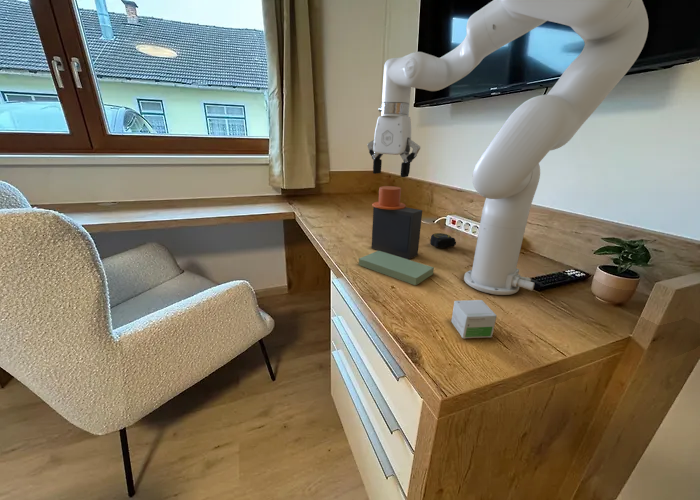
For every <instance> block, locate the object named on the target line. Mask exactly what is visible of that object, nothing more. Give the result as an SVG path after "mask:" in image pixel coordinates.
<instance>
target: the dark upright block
mask: <svg viewBox="0 0 700 500" xmlns="http://www.w3.org/2000/svg"><path fill="white" fill-rule="evenodd" d="M372 207H373V206H372ZM422 219H423V210H422V209H418V208H412V207H408V206H406V207H405V208H404V209H398V210H387V209H379V208H376V207H373V209H372V226H371V227H372V228H371V230H372V231H371V247H370V248H371V249H373V250H376V251H382V252H385V253H388V254H391V255H395V256H398V257H401V258H404V259H408V260H411V259H413V258H415V257H418V255H419V246H420V236H421V226H422Z"/></svg>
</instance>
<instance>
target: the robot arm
mask: <svg viewBox="0 0 700 500" xmlns="http://www.w3.org/2000/svg"><path fill="white" fill-rule="evenodd" d="M546 22H552V23H557V24H560V25H565V26H567V27H570V28H571V29H572V30H573V31H574V33H575V34H577V35H578V37H580V39H582V40H583V42H584V46H583V47H582V48H583V49H582V50H581V52H580V53H579V55H578V56H576V58H574V60H573V61H572V62H571V63H570V64H569V65H568V66H567V68H565V70H564V71H563V73H562V74H561V75H560V77H559V79H558V80H557V81H556V82H555V84H554V85H553V86H552V87H551V89H549V91H548V92H547V94H541V95H536V96H533V97H531V98H529V99H527V100H525V101H524V102H523V103H521V104H520V105H519V106H518V107H516V108H515V110H513V112H512V113H511V114H510V115H509V116H508V118H507V119H506V121H505V122H504V123H503V125H502V126H501V128H500V129H499V130H498V131H497V133H496V134H495V136H494V137H493V138H492V140H491V141H490V143H489V144H488V145H487V147H486V148H485V150H484V151H483V152H482V154H481V155H480V157H479V159H478V160H477V162H476V163H475V165H474V168H473V170H472V185H473V187H474V190H475V191H476V192H477V193H478V194H479V195H480V196H482V197H483V198H485V200H484V203H483V207H482V210H481V216H480V221H479V228H478V234H477V239H476V244H475V251H474V257H473V262H472V268H471V269H470V270H468V271H466V272H465V273H464V274H463V275H464V276H463V280H464V282H465V284H467V285H468V286H469V287H471V288H472V289H475V290H476V291H478V292H479V291H480V292H482V293H485V294H490V295H497V296H509V295H513V294H516V293H517V292H519V290H520V288H523V289H525V290H528V291H533V290H534V288H535V282H533V281H532V278H530V277H526V276H523V275H522V276H521V274H520V268H517V266H518V264H519V263H518V262H519V258H520V253H521V250H522V245H523V240H524V235H525V232H526V226H527V223H528V220H529V215H530V211H531V207H532V203H533V200H534V199H535V198H534V197H535V194H536V192H537V189H538V185H539V183H540V179H541V167H540V162H541V161H542V160H543V159H544V158H545V157H546V156H547V155H548V153H549V152H550V151H555V150H558V149H561V148H562V147H564V146H565V145H566V144H567V143H568V142H570V141H571V140H572V138H573V137H574V136H575V135H576V133H577V132H578V131H579V130H580V128H581V127H582V126H583V125H584V124H585V123H586V121H587V120H588V119H589V118H590V117H591V115H592V114H593V113H594V112H595V111H596V110H597V109H598V108H599V106H600V105H601V104H602V103H603V101H605V99H606V98H607V96H608V95H609V94H610V93H611V92H612V91H613V89H615V87H616V86H617V85H618V84H619V83H620V81H621V80H622V79H623V78H624V77H625V75H626V74H627V73H628V72H629V70H631V68H632V66H633V65H635V62H637V59H638V58H639V56H640V54H641V52H642V50H643V49H644V47H645V44H646V41H647V38H648V32H649V18H648V12H647V9H646V7H645V4H644V1H643V0H492V1H490V2H488V3H487V4H486V5H484V6H483V7H481V8H480V9H479V10H477V11H475V12H473V13H472V14H471V15H470V16H469V18H468V19H467V22H466V26H465V27H466V28H465V29H466V31H465V32H466V35H465V37H464V39H463V40H462V41H461V42H460V43H459V44H458V45H457V46H456V47H454V48H453V49H452V50H450V51H449V52H447V53H445V54H444V55H442V56H441V57H437V56H435V55H432V54H429V53H426V52H423V51H414V52H411V53H409V54H406V55H404V56H401V57H391V58H388V59H387V60H386V61H385V62H384V65H383V75H382V76H383V78H382V91H381V92H382V94H381V106H379V107H378V112H379V113H380V115H379V116H378V117H377V120H376V124H375V130H374V136H373V137H374V138H373V139H372V140H371V141H370V142H368V143H367V149H368V153H369V155H370V156H371V159H372V161H373V163H372V174H375V175H376V174H381V173H382V163H383V160H382V159H381V158H382V157H383V156H384V155H390V156H391V155H392V156H400V158H401V159H402V162H401V165H400V178H408V177H409V175H410V169H411V163H412V162H413V161H414V159H415V158H416V157H417V156H418V154H419V152H420V150H421V145H419V144H418V143H416V142H415V141H414V140H412V122H411V121H412V119H411V116H409V115H410V103H411V92H412V88H414V89H419V90H425V91H429V92H437V91H440V90H443V89H445V88H447V87H449V86H450V85H453V84H455V83H457V82H458V81H460V80H462V79H463V78H465V77H467V76H468V75H470V74H471V72H472V71H473V70H475V68H476V67H477V66H478V65H480V64H481V62H482V61H483V59H485V58H486V57H487V56H489V55H491V54H492V53H494V52H496V51H498V50H499V49H501V48H502V47H504V46H506V45H508V44H509V43H511V42H513V41H515V40H517V39H518V38H521V37H522V36H524V35H526V34H527V33H529V32H530V31H532V30H534V29H536V28H538V27H540V26H541V25H543V24H545V23H546ZM411 149H412V150H411Z"/></svg>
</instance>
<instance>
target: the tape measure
mask: <svg viewBox="0 0 700 500" xmlns="http://www.w3.org/2000/svg"><path fill="white" fill-rule="evenodd" d="M429 242H430V245H431V246H432V247H435V248H437V249H445V248H452V247H455V246H456V244H457V241H456V239H455V237H452V236H451V235H449V234H448V233H442V232H437V233H432V234H431V235H430V241H429Z"/></svg>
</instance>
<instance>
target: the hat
mask: <svg viewBox="0 0 700 500" xmlns="http://www.w3.org/2000/svg"><path fill="white" fill-rule="evenodd" d="M401 192H402V187H401V186H393V185H383V186H379V190H378V201H375V202H373V203H372V207H376V208H379V209H387V210H398V209H404V208H405V207H407V204H405V203H403V202H401V194H402V193H401Z"/></svg>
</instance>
